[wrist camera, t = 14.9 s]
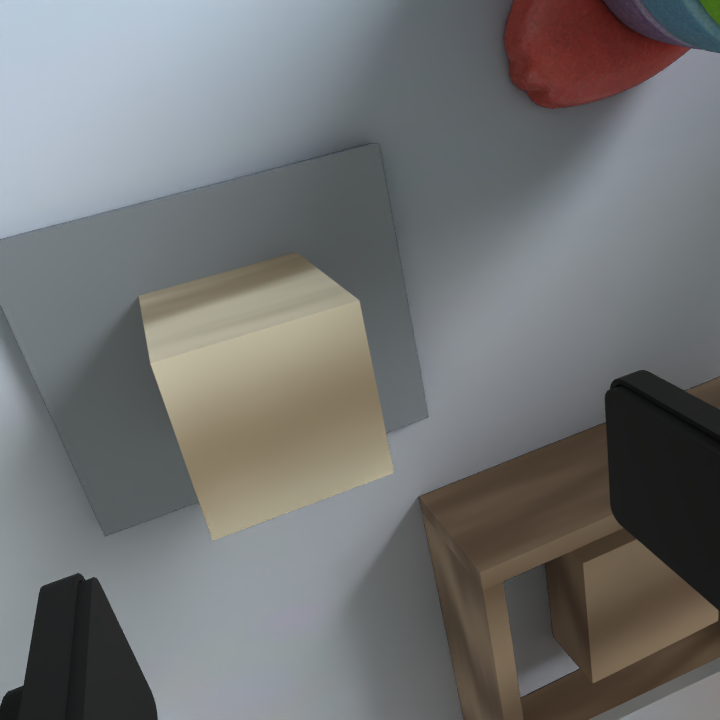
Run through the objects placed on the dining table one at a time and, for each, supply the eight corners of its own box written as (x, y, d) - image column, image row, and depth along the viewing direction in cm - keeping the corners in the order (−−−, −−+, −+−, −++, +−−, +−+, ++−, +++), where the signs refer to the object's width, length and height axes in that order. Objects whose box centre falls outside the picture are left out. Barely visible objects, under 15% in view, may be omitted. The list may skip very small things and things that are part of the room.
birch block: (138, 295, 20) (150, 363, 15) (296, 252, 21) (359, 300, 16) (187, 437, 22) (212, 541, 17) (328, 389, 23) (394, 473, 18)
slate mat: (-22, 244, 19) (-26, 248, 18) (372, 143, 22) (378, 144, 21) (104, 526, 23) (104, 536, 22) (422, 410, 26) (428, 417, 25)
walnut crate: (418, 496, 27) (479, 572, 23) (762, 360, 31) (871, 402, 27) (467, 736, 33) (522, 833, 29) (750, 595, 37) (836, 662, 33)
